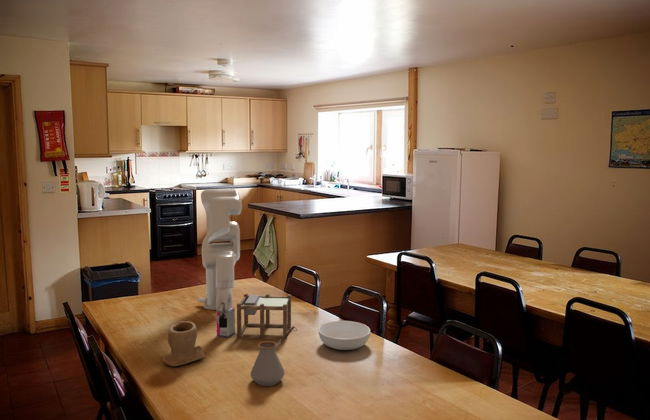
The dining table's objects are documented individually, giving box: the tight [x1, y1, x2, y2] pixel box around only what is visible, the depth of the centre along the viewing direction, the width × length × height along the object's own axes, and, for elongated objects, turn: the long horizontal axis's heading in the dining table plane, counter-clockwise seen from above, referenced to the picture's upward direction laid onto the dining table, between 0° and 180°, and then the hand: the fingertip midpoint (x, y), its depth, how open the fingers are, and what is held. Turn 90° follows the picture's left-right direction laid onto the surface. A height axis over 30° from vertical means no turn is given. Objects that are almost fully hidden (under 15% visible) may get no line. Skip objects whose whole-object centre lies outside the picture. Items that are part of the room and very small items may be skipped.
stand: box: [236, 293, 292, 340], centre depth 227 cm, size 21×16×14 cm
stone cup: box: [162, 320, 205, 367], centre depth 195 cm, size 15×12×15 cm
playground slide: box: [245, 294, 289, 316], centre depth 226 cm, size 17×13×5 cm
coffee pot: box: [250, 326, 298, 387], centre depth 183 cm, size 21×12×15 cm, turn 147°
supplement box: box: [215, 306, 236, 338], centre depth 224 cm, size 6×6×12 cm
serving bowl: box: [317, 320, 371, 351], centre depth 213 cm, size 21×21×7 cm
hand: (225, 323), depth 223 cm, fingers open, 9 cm apart
